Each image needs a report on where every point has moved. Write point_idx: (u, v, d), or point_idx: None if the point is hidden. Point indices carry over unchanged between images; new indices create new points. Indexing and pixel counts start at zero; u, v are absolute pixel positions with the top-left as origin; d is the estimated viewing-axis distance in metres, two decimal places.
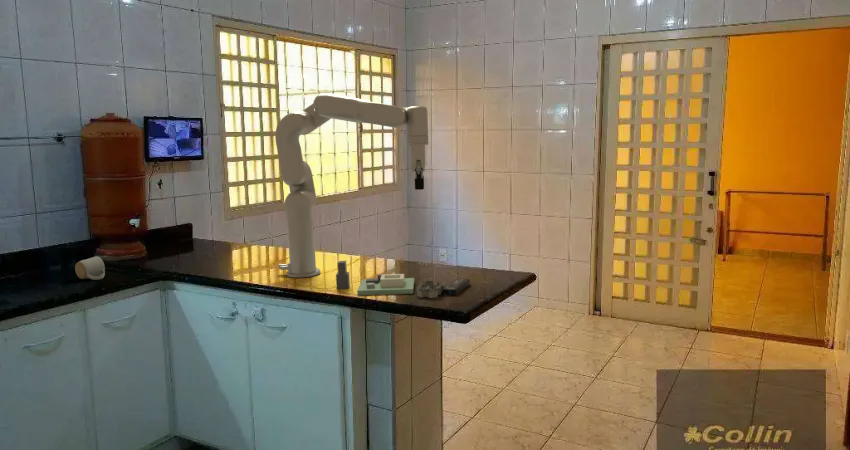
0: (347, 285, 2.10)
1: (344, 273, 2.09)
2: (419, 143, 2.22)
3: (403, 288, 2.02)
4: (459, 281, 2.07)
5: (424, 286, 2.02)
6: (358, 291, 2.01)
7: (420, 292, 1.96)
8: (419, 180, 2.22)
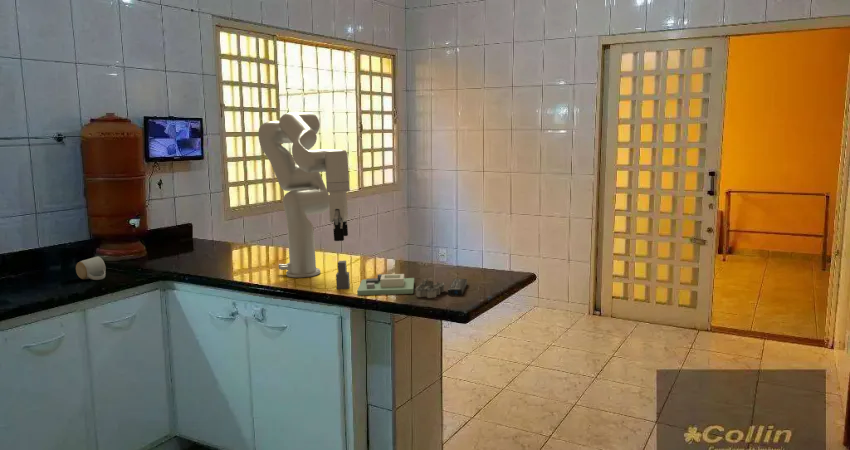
0: (347, 285, 2.10)
1: (344, 273, 2.09)
2: (338, 190, 2.03)
3: (403, 288, 2.02)
4: (458, 281, 2.08)
5: (424, 286, 2.02)
6: (358, 291, 2.01)
7: (418, 292, 1.96)
8: (338, 231, 2.02)
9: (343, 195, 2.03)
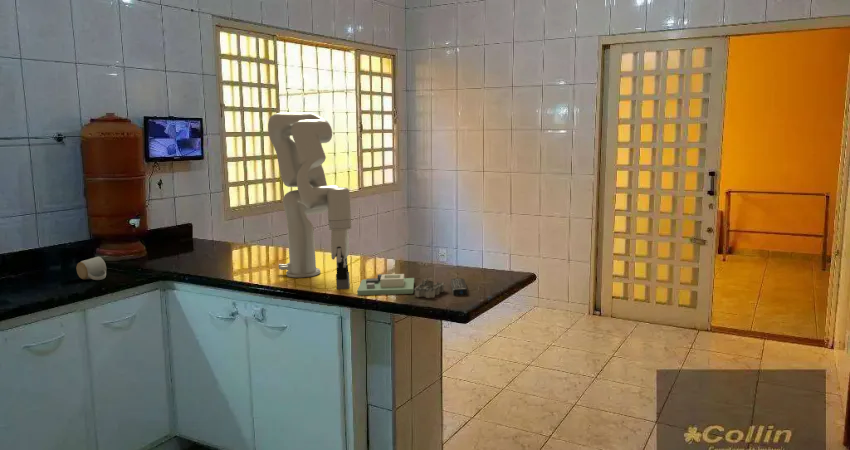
0: (347, 285, 2.10)
1: None
2: (340, 228, 2.05)
3: (403, 288, 2.02)
4: (457, 281, 2.08)
5: (423, 286, 2.02)
6: (358, 291, 2.01)
7: (417, 292, 1.97)
8: (341, 270, 2.08)
9: (345, 233, 2.05)
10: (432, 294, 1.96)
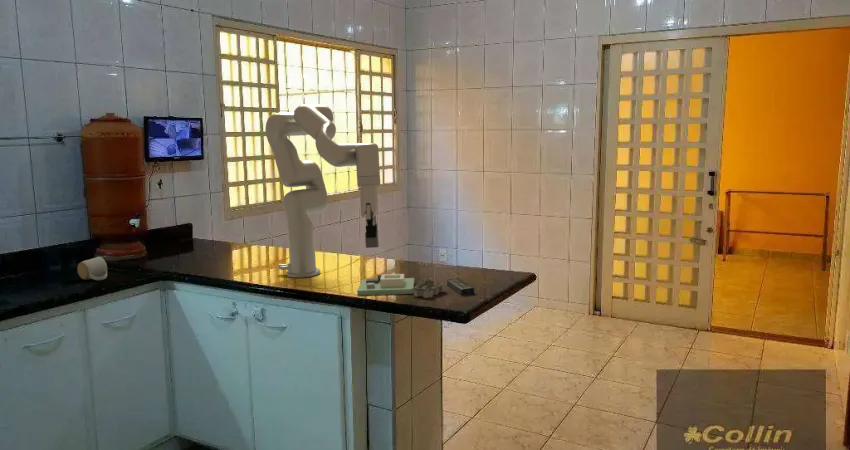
0: (376, 243, 2.05)
1: None
2: (369, 184, 2.01)
3: (403, 288, 2.02)
4: (455, 281, 2.08)
5: (423, 285, 2.03)
6: (358, 291, 2.01)
7: (415, 291, 1.97)
8: (370, 228, 2.03)
9: (374, 189, 2.01)
10: (430, 294, 1.96)
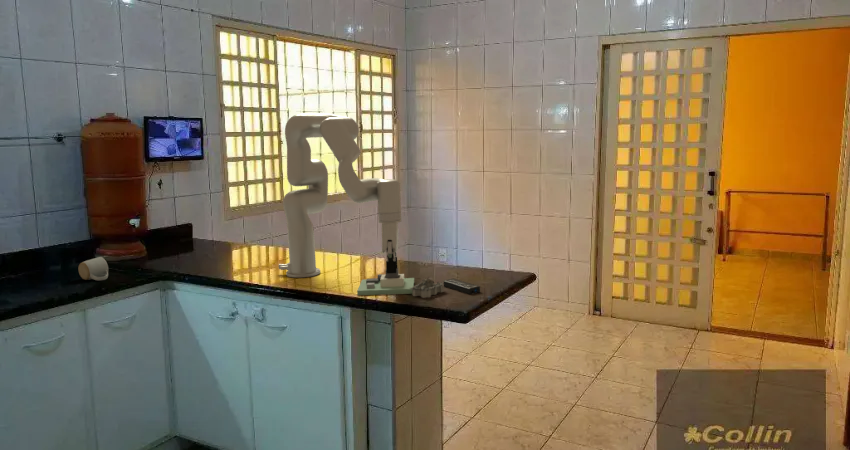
0: None
1: None
2: (391, 221, 2.01)
3: (403, 288, 2.02)
4: (453, 281, 2.07)
5: (422, 285, 2.03)
6: (358, 291, 2.01)
7: (413, 291, 1.98)
8: (391, 263, 2.03)
9: (396, 226, 2.02)
10: (428, 294, 1.96)
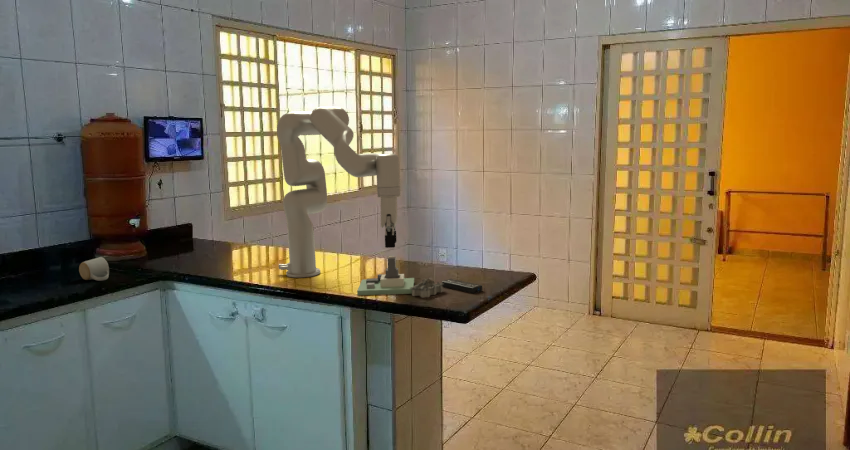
0: None
1: (394, 269, 2.06)
2: (389, 195, 2.00)
3: (403, 288, 2.02)
4: (453, 281, 2.07)
5: (422, 285, 2.03)
6: (358, 291, 2.01)
7: (413, 291, 1.98)
8: (390, 237, 2.01)
9: (395, 200, 2.00)
10: (427, 294, 1.96)
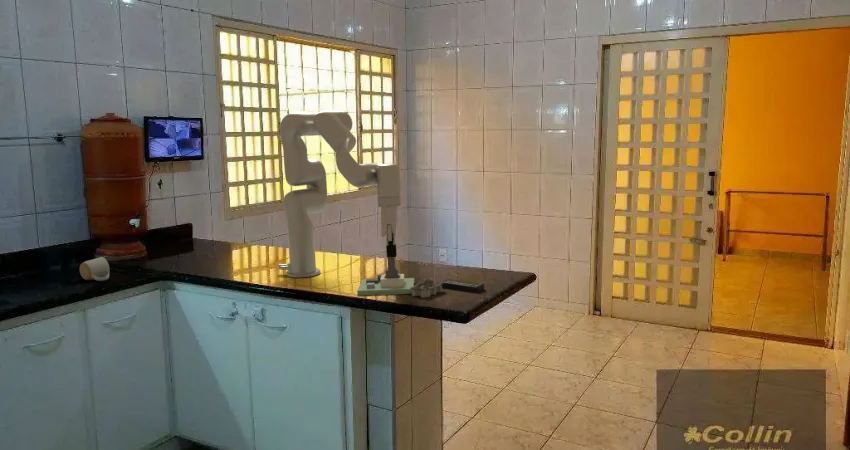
0: None
1: (394, 269, 2.06)
2: (390, 205, 2.00)
3: (403, 288, 2.02)
4: (452, 282, 2.07)
5: (422, 285, 2.03)
6: (358, 291, 2.01)
7: (413, 291, 1.98)
8: (391, 247, 2.05)
9: (395, 210, 2.01)
10: (427, 294, 1.96)
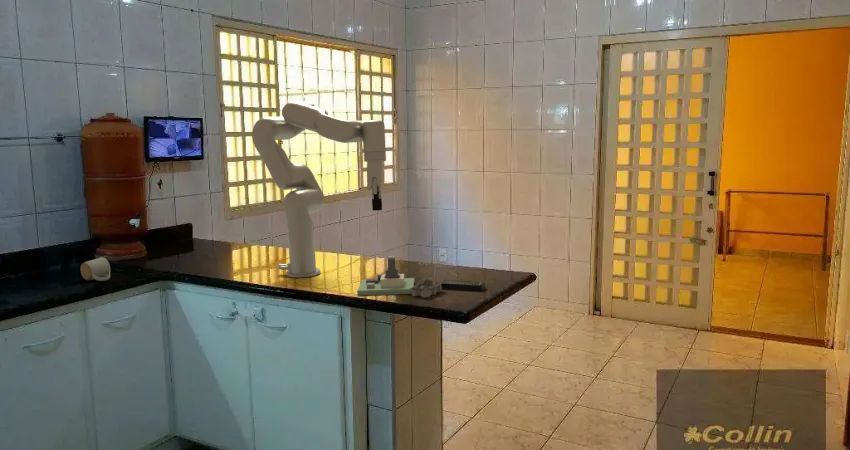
0: None
1: (394, 269, 2.06)
2: (375, 159, 2.09)
3: (403, 288, 2.02)
4: (451, 282, 2.07)
5: (421, 285, 2.03)
6: (358, 291, 2.01)
7: (413, 291, 1.98)
8: (376, 201, 2.14)
9: (380, 164, 2.10)
10: (427, 294, 1.96)
